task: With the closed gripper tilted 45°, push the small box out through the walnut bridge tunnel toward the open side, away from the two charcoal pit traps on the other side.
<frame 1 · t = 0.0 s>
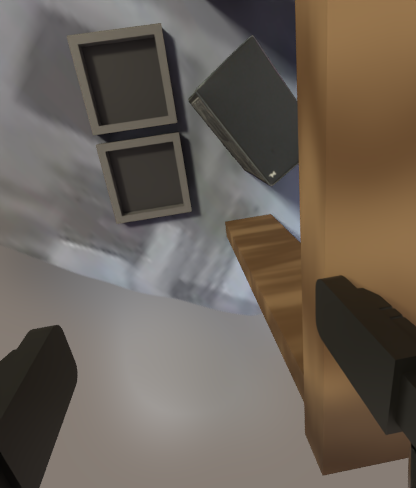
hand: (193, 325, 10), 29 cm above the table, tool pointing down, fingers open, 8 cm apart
pit traps: (137, 133, 35), on the table
tunnel: (238, 118, 35), on the table
small box: (238, 118, 35), on the table
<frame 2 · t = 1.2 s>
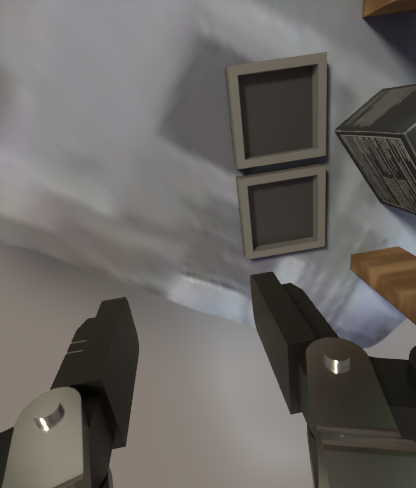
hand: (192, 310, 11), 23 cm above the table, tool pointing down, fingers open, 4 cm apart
pit traps: (277, 165, 32), on the table
tunnel: (383, 148, 33), on the table
small box: (381, 148, 33), on the table
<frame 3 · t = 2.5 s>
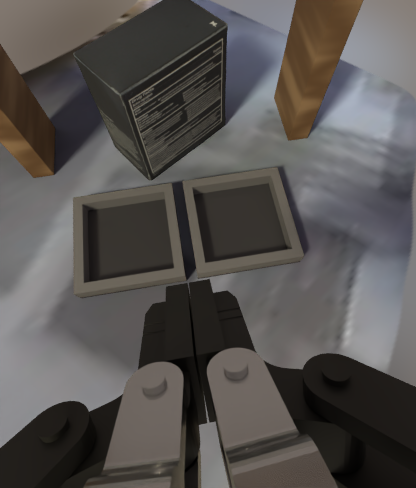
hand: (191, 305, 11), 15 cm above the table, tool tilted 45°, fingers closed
pit traps: (185, 232, 28), on the table
tunnel: (169, 134, 33), on the table
small box: (170, 136, 33), on the table
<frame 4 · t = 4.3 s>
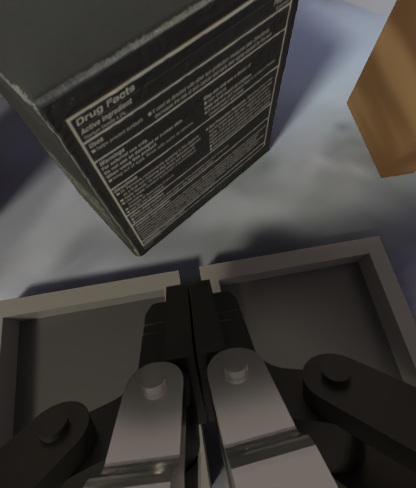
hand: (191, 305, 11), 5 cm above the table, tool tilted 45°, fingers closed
pit traps: (205, 368, 15), on the table
tunnel: (173, 167, 19), on the table
small box: (174, 170, 19), on the table
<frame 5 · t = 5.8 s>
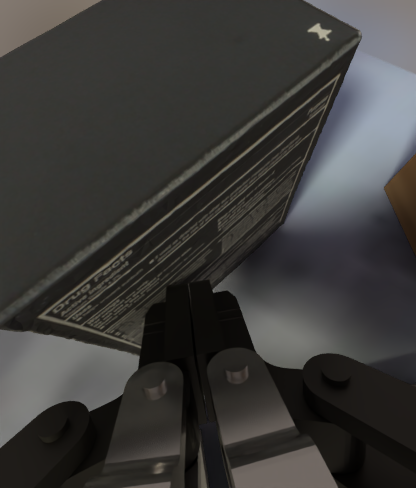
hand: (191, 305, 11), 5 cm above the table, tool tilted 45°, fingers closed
tunnel: (186, 274, 16), on the table
small box: (177, 245, 17), on the table
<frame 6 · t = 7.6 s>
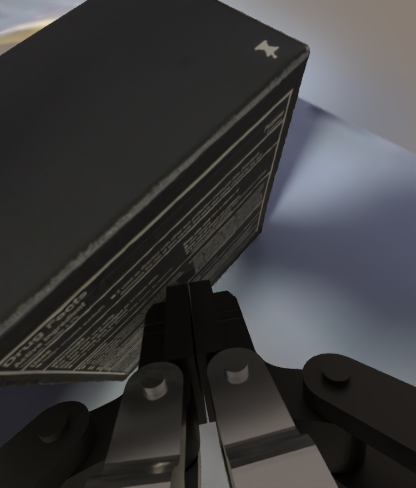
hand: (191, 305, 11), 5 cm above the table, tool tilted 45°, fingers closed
small box: (155, 262, 17), on the table, touching gripper
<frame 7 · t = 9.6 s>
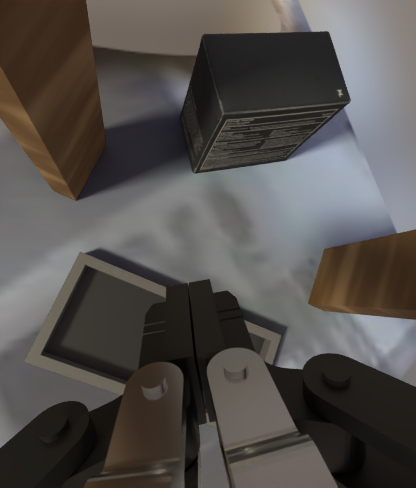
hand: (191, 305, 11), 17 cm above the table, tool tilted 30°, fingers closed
pit traps: (164, 344, 27), on the table
tunnel: (211, 227, 30), on the table
small box: (233, 139, 32), on the table
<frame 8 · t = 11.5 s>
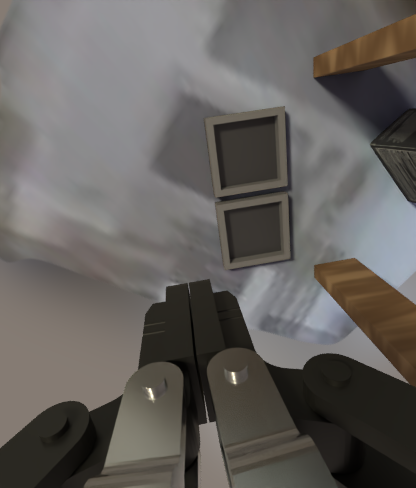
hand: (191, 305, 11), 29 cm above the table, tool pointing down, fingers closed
pit traps: (249, 192, 39), on the table
tunnel: (336, 178, 40), on the table
small box: (408, 156, 40), on the table
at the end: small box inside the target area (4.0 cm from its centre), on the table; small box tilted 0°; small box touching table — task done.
